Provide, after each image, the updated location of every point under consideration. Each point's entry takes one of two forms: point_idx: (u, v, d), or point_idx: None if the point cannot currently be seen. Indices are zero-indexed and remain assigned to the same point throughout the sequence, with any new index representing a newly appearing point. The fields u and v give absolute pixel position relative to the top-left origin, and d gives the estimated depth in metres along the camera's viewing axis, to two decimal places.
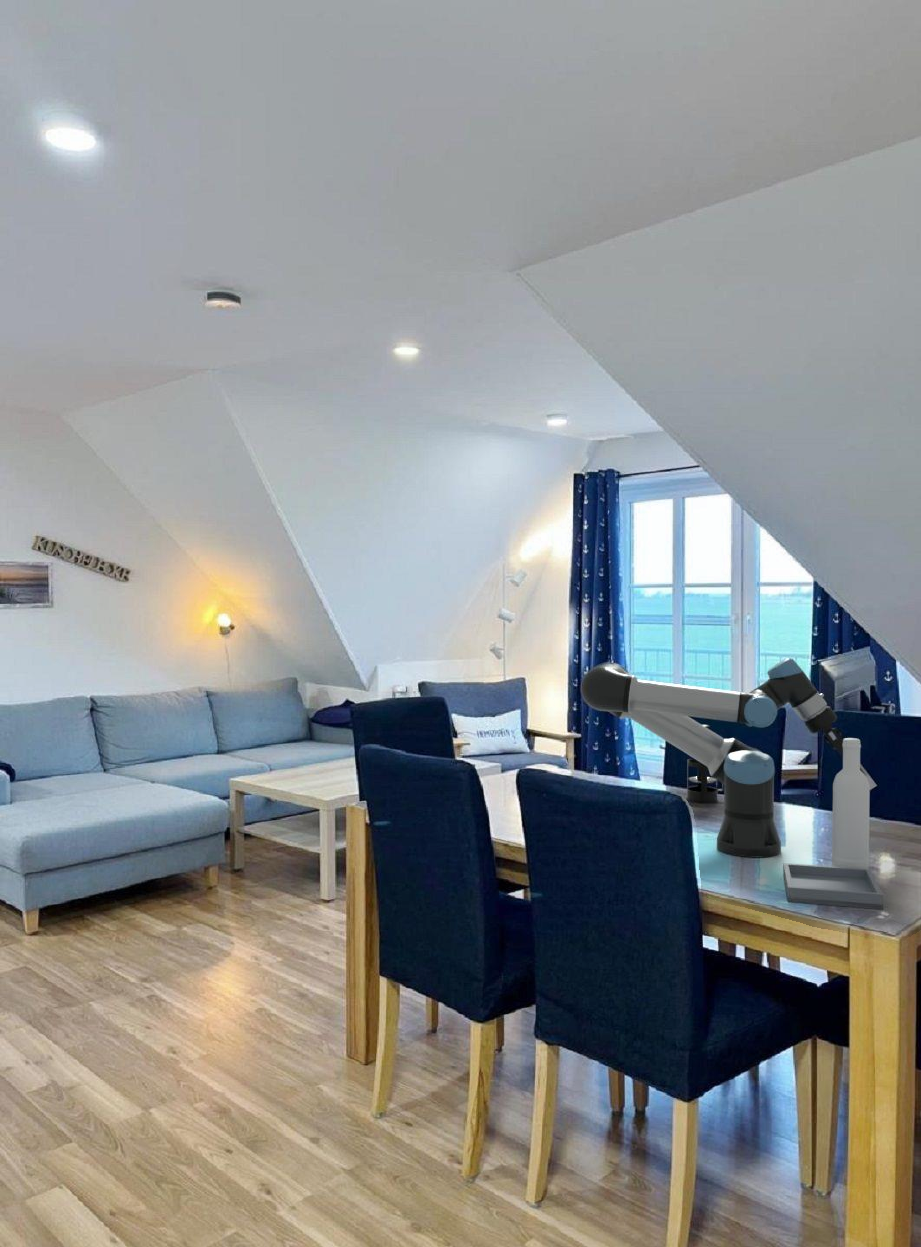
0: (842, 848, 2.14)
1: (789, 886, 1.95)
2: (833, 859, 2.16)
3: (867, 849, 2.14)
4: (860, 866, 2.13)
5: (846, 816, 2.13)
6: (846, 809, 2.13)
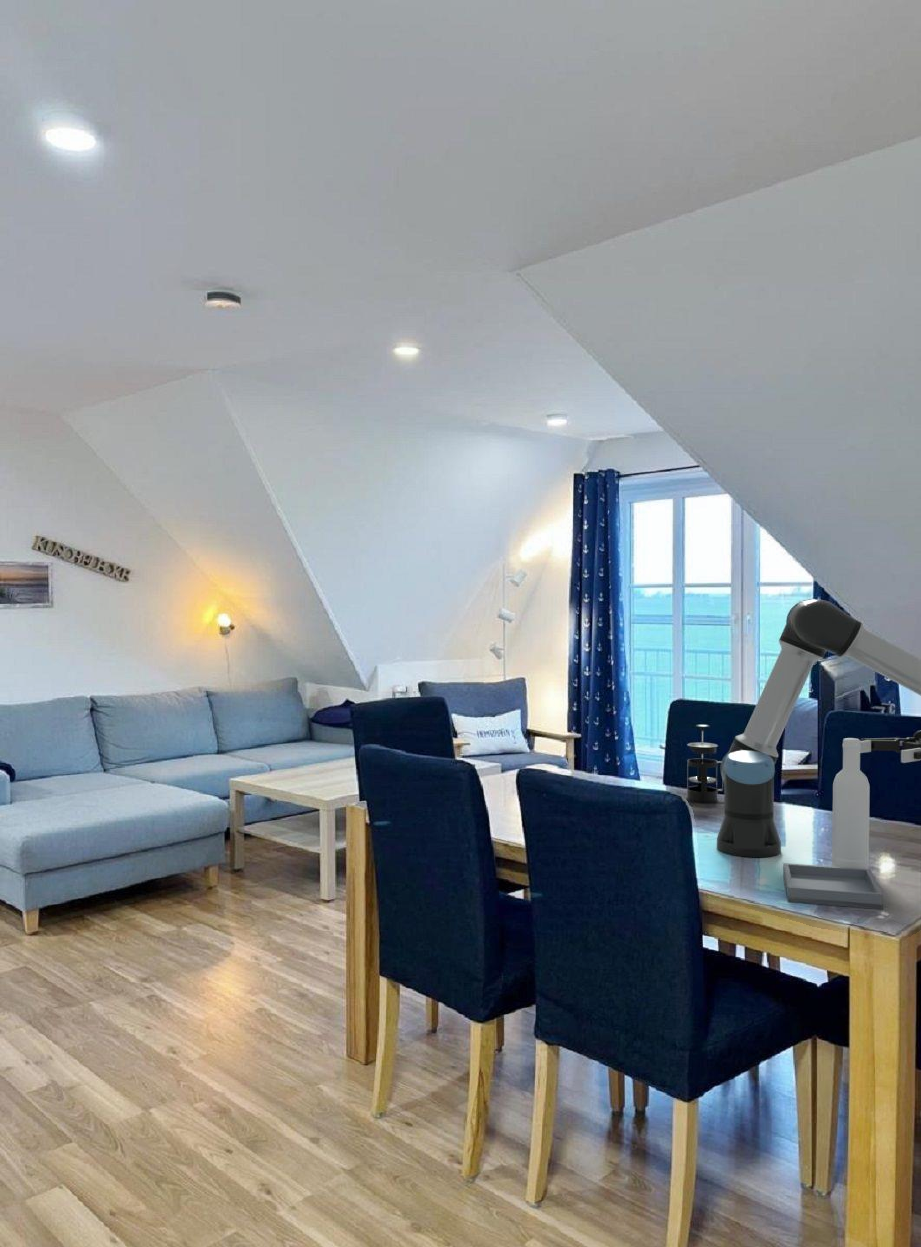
0: (842, 848, 2.14)
1: (789, 886, 1.95)
2: (833, 859, 2.16)
3: (867, 849, 2.14)
4: (860, 866, 2.13)
5: (846, 816, 2.13)
6: (846, 809, 2.13)
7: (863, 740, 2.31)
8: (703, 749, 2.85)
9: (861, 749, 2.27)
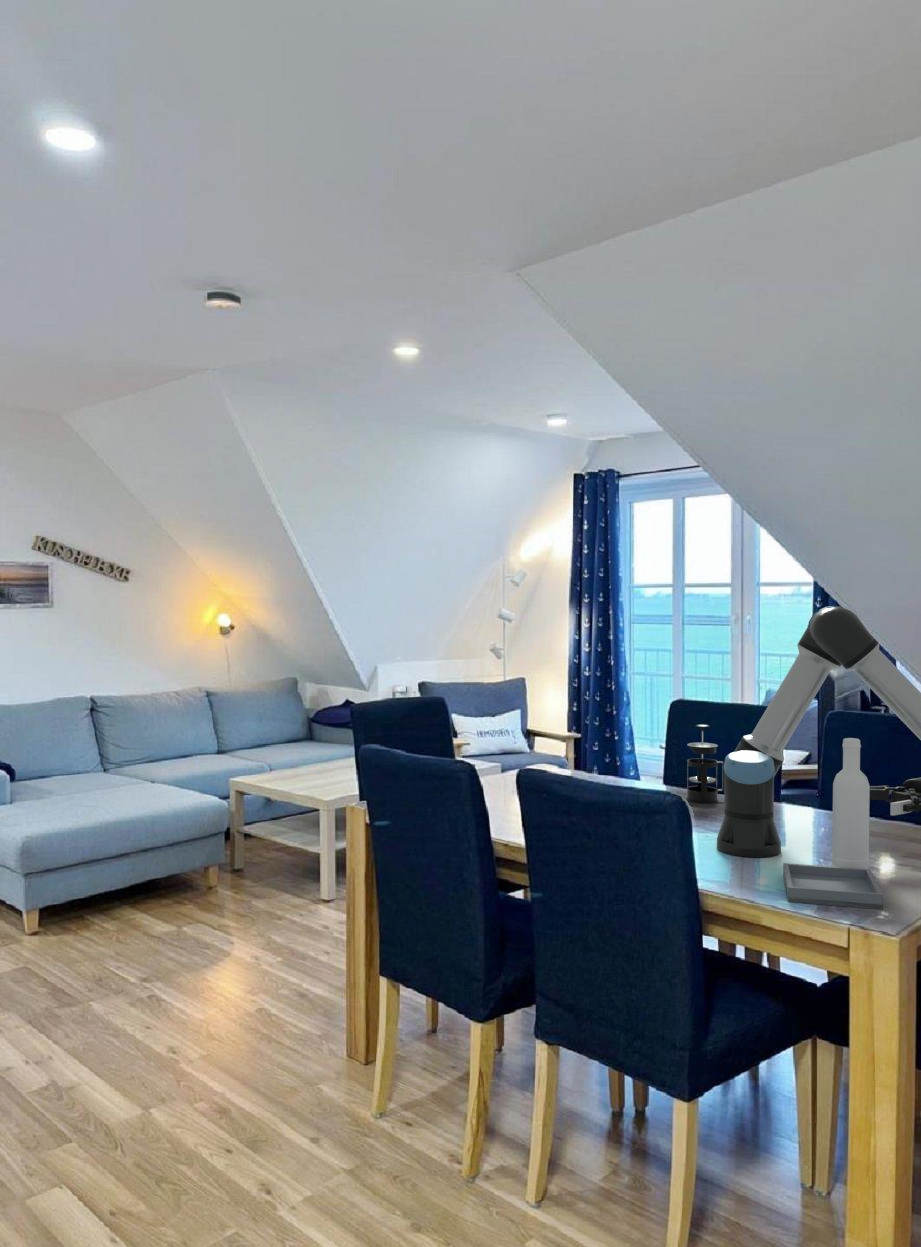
0: (842, 848, 2.14)
1: (789, 886, 1.95)
2: (833, 859, 2.16)
3: (867, 849, 2.14)
4: (860, 866, 2.13)
5: (846, 816, 2.13)
6: (846, 809, 2.13)
7: None
8: (703, 749, 2.85)
9: None
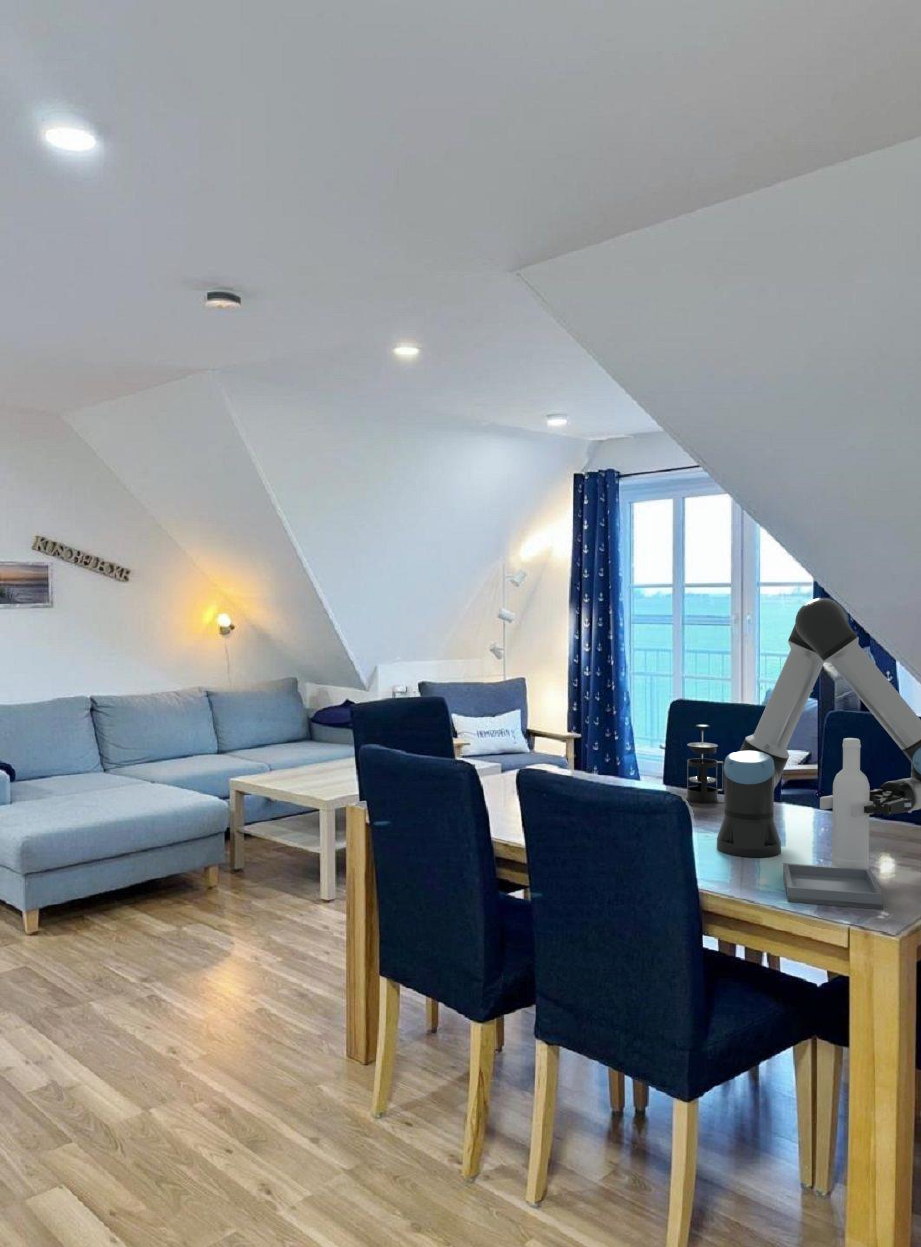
0: (842, 848, 2.14)
1: (789, 886, 1.95)
2: (833, 859, 2.16)
3: (867, 849, 2.14)
4: (860, 866, 2.13)
5: (846, 816, 2.13)
6: (846, 809, 2.13)
7: None
8: (703, 749, 2.85)
9: (831, 804, 2.18)
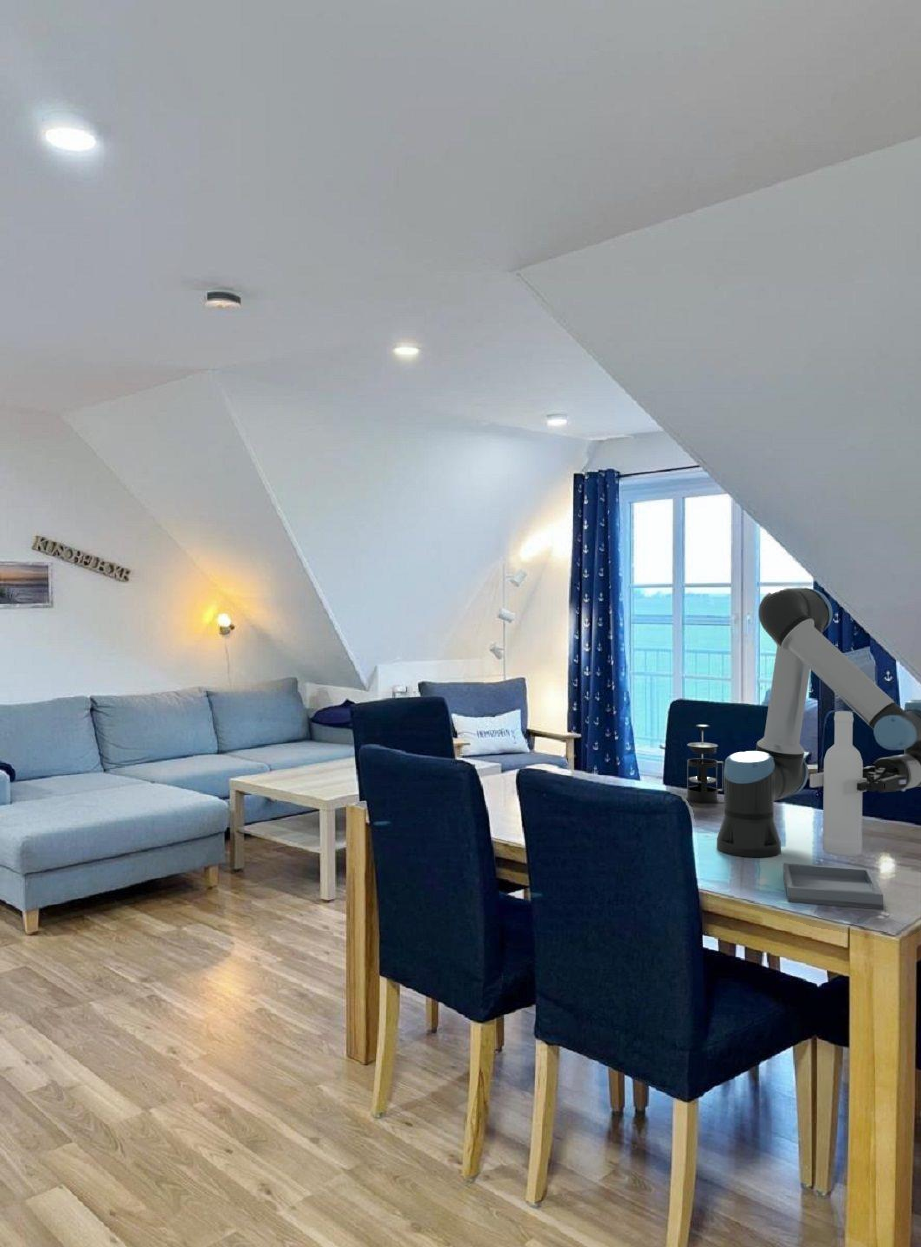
0: (834, 828, 2.00)
1: (789, 886, 1.95)
2: (824, 840, 2.03)
3: (860, 829, 2.00)
4: (852, 847, 1.99)
5: (838, 794, 2.00)
6: (838, 787, 1.99)
7: None
8: (703, 749, 2.85)
9: (822, 782, 2.05)
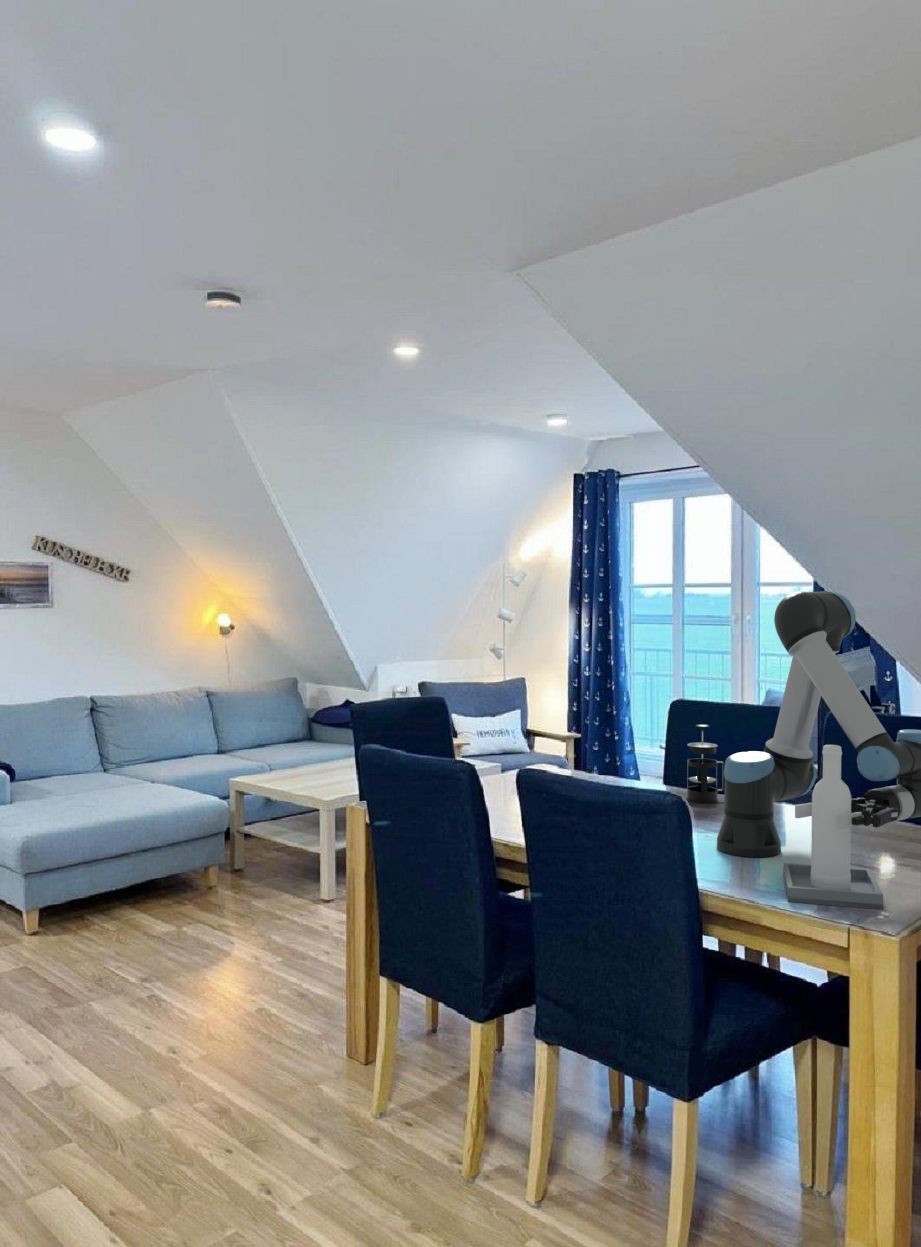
0: (822, 863, 1.98)
1: (789, 886, 1.95)
2: (812, 875, 2.01)
3: (848, 865, 1.98)
4: (840, 883, 1.97)
5: (826, 829, 1.97)
6: (826, 822, 1.97)
7: (811, 801, 2.08)
8: (703, 749, 2.85)
9: (807, 812, 2.04)
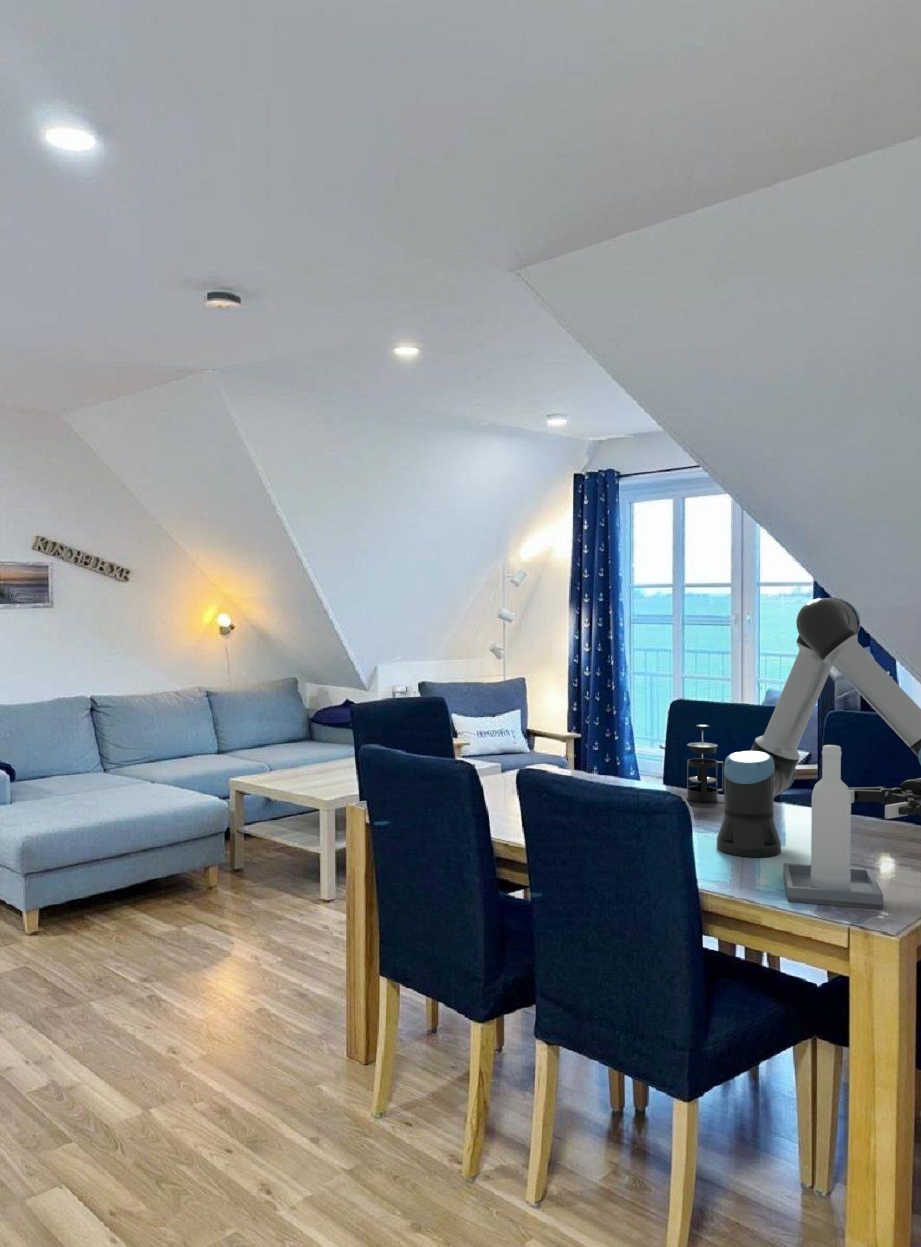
0: (822, 863, 1.98)
1: (789, 886, 1.95)
2: (812, 875, 2.01)
3: (848, 865, 1.98)
4: (840, 883, 1.97)
5: (825, 829, 1.97)
6: (825, 822, 1.97)
7: None
8: (703, 749, 2.85)
9: None
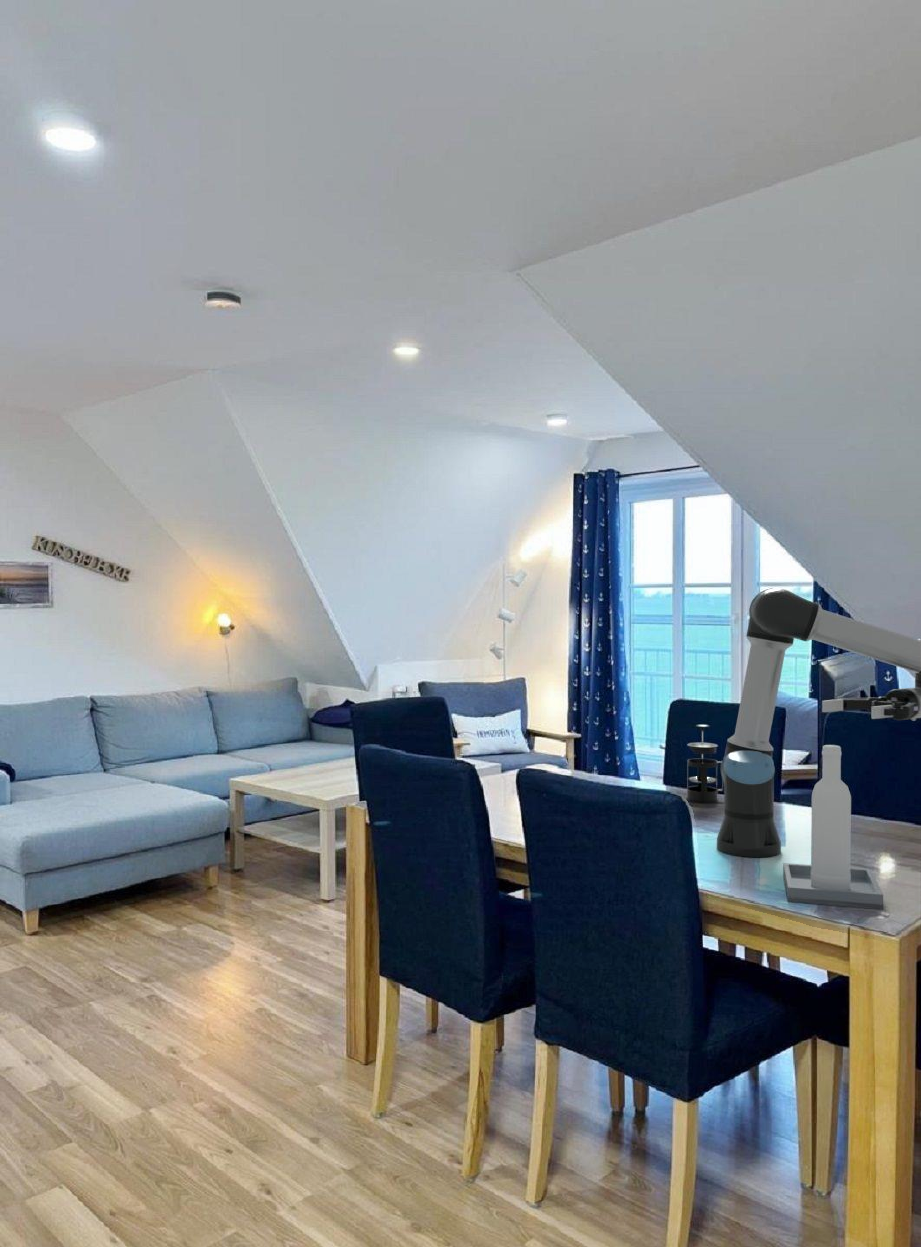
0: (822, 863, 1.98)
1: (789, 886, 1.95)
2: (812, 875, 2.01)
3: (848, 865, 1.98)
4: (840, 883, 1.97)
5: (825, 829, 1.97)
6: (825, 822, 1.97)
7: (836, 699, 2.32)
8: (703, 749, 2.85)
9: (833, 707, 2.28)
